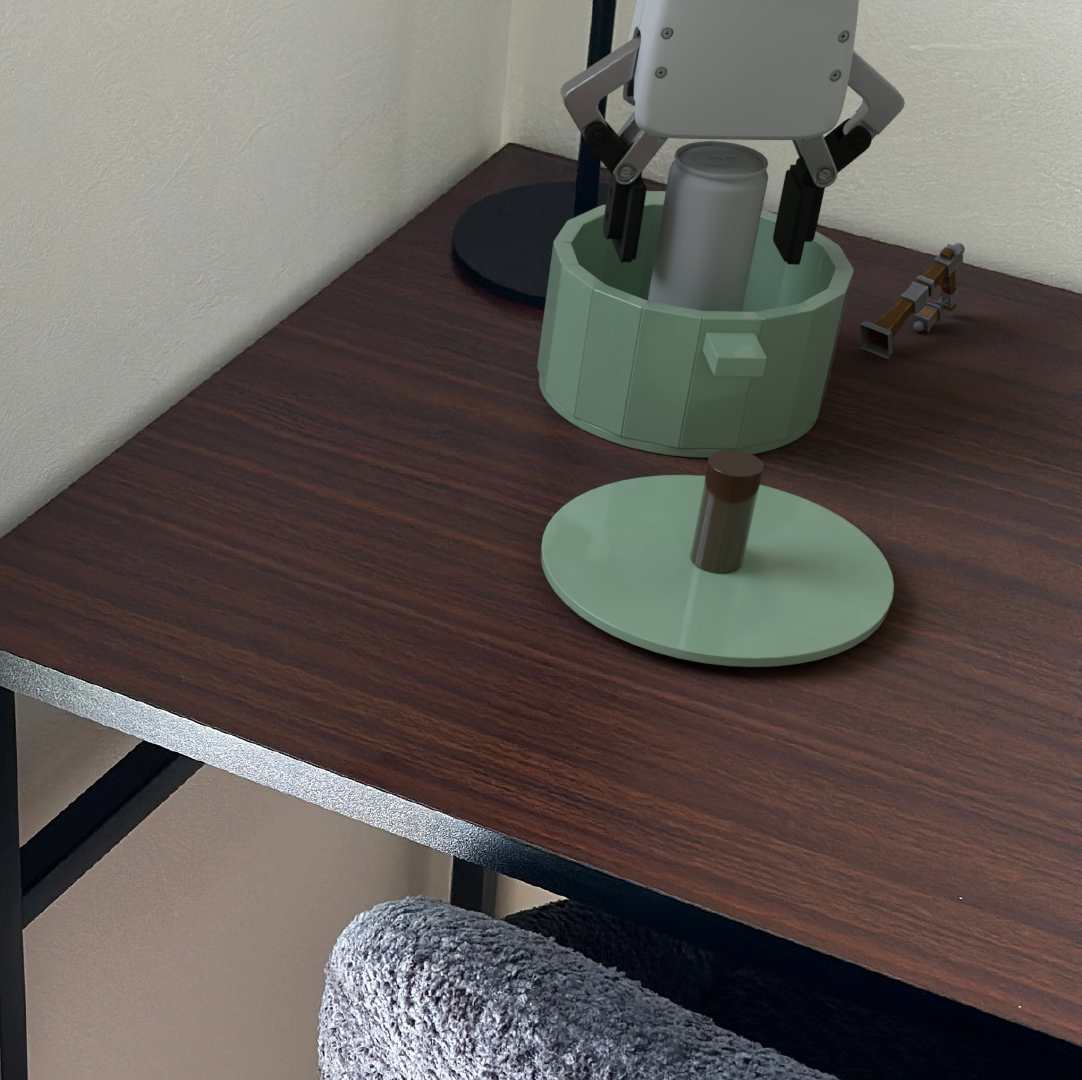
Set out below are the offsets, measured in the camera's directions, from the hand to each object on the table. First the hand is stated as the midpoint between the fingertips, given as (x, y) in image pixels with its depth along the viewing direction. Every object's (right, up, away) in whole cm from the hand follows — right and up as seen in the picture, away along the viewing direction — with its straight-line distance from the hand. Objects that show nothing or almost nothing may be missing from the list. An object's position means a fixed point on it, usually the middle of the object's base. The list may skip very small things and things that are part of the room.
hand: (704, 250), depth 107 cm
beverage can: (0, -6, +5) cm, 7 cm away
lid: (-2, -18, -10) cm, 20 cm away
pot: (0, -6, +5) cm, 8 cm away
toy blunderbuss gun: (+14, -2, +11) cm, 17 cm away
